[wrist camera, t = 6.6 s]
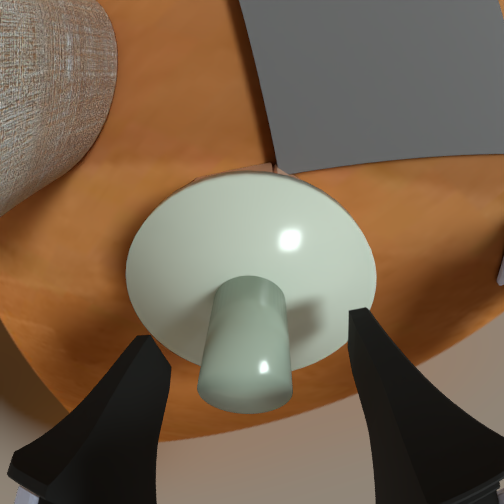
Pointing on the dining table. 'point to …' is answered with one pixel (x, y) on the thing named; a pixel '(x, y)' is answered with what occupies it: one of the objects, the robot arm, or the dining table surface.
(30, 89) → the planter
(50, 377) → the dining table surface
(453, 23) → the mat
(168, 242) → the lid
